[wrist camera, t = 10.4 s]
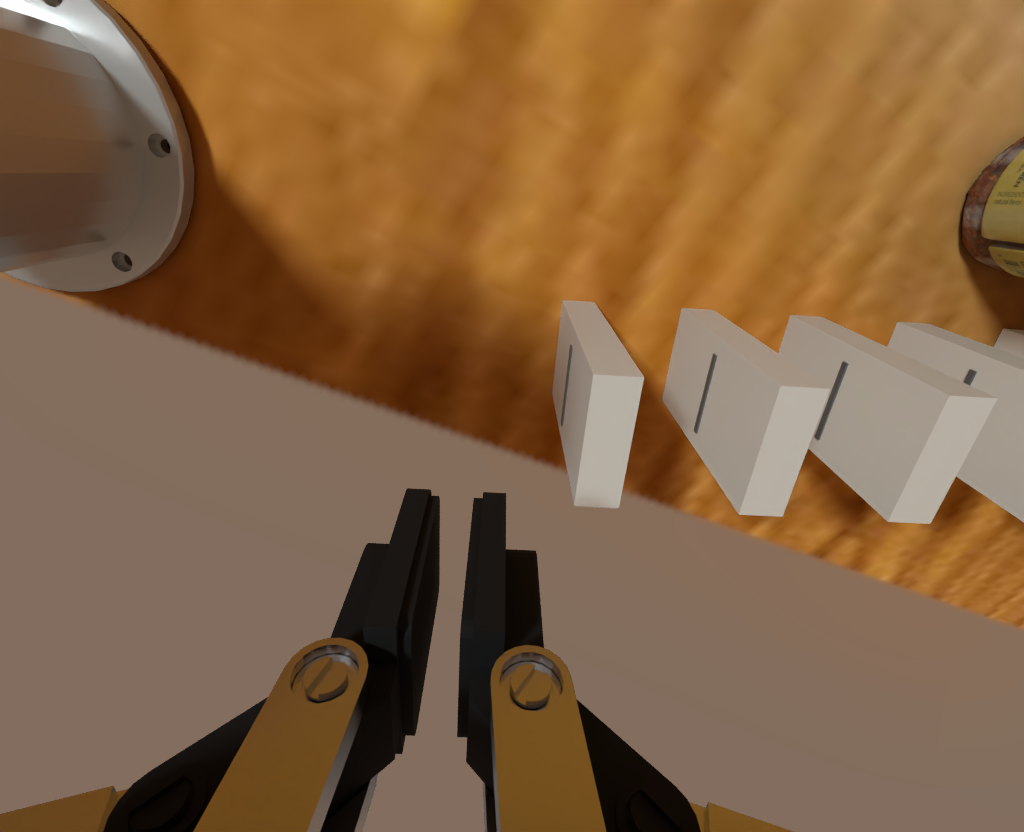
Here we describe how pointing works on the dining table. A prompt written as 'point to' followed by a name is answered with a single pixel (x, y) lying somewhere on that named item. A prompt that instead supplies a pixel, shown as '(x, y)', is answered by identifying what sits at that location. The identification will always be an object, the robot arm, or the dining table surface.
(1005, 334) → the domino
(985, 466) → the domino
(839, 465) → the domino
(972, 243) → the sauce bottle
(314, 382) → the dining table surface
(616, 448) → the domino
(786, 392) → the domino
